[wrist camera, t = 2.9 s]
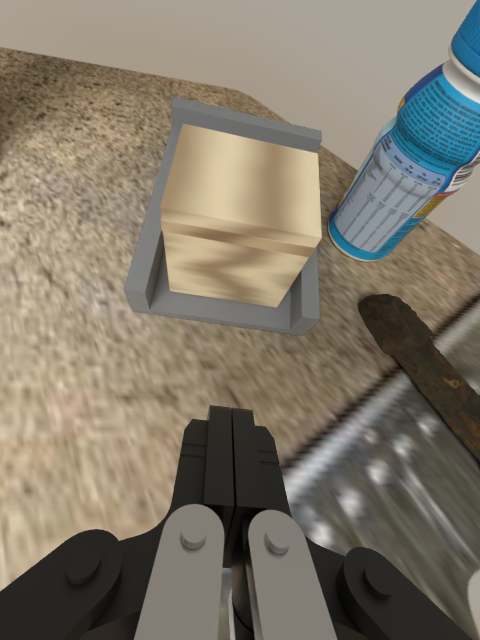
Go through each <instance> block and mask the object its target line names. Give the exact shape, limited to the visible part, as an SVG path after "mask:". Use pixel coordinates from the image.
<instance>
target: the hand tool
mask: <svg viewBox="0 0 480 640" xmlns="http://www.w3.org/2000/svg"><path fill="white" fill-rule="evenodd" d="M358 306H359V307H358V308H359V311H360V313H361V315H362V317H363V319H364V321H365V323H366V326H367V328H368V329H369V330H370V332H371V333H372V335H373V336H374V338H375V339H376V341H377V343H378V344H379V346H380V348H381V350H382V351H383V352H384V353H385V354H389V355H392V356H393V357H394V358H395V359H396V360H397V361H398V362H399V364H400V365H401V366H402V367H403V368H404V369H405V371H406V372H407V374H408V375H409V377H410V378H411V379H412V380H413V382H414V383H415V384H416V386H417V387H418V389H419V391H420V392H421V393H422V394H423V395H424V396H425V397H426V398H427V399H428V400H429V401H430V402H431V403H432V405H433V406H434V407H435V408H436V409H437V411H438V412H439V413H440V414H441V416H442V417H443V418H444V420H445V422H446V423H447V424H448V425H449V426H450V427H451V429H452V430H453V432H454V433H455V434H456V435H457V436H458V437H459V438H460V439H461V440H462V442H463V443H464V445H465V446H466V447H467V448H468V449H469V450H470V451H471V452H472V453H473V455H474V456H475V457H476V458H477V460H478V461H479V462H480V395H478V394H477V393H476V392H475V390H474V389H473V388H471V387H470V385H469V384H468V383H467V382H466V381H465V380H464V379H463V378H462V377H461V375H460V374H459V373H458V372H457V371H456V370H455V368H453V367H452V365H451V364H450V363H449V362H448V361H447V360H446V359H445V358H444V357H443V355H442V354H441V353H440V351H439V350H438V349H437V348H436V347H435V346H434V345H433V343H432V341H431V340H430V339H429V337H430V336H431V335H432V334H433V333H432V331H431V330H430V329H429V328H428V326H427V325H426V324H425V323H424V322H423V321H421V319H420V318H419V317H418V316H417V314H416V312H415V311H413V310H412V309H411V307H410V306H409V305H408V304H406V303H404V302H403V301H402V300H401V299H400V298H398V297H396V296H391V295H389V294H381V295H370V296H368V297H366V298H364V299H363V300H362V301H361V302H360V303H359V305H358Z"/></svg>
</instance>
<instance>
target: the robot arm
mask: <svg viewBox="0 0 480 640" xmlns="http://www.w3.org/2000/svg"><path fill="white" fill-rule="evenodd" d="M222 568H232V590H231V593H230V597H229V603H228V610H229V624H230V639H231V640H472V639H471V638H470V637H469V636H468V635H467V634H466V633H465V632H464V631H463V630H462V629H461V628H460V627H459V626H457V625H456V624H455V623H454V622H453V621H452V620H451V619H450V618H449V617H448V616H447V615H446V614H445V613H444V612H443V611H442V610H440V609H439V608H438V607H437V606H436V605H435V604H434V603H433V602H432V601H431V600H430V599H429V598H428V597H427V596H426V595H425V594H423V593H422V592H421V591H420V590H419V589H418V588H417V587H416V586H415V585H414V584H413V583H412V582H411V581H410V580H409V579H408V578H406V577H405V576H404V575H403V574H402V573H401V572H400V571H399V570H398V569H397V568H396V567H395V566H394V565H393V564H392V563H391V562H389V561H388V560H387V559H386V558H385V557H384V556H382V555H381V554H379V553H378V552H376V551H374V550H371V549H369V548H364V547H357V548H354V549H352V550H350V551H349V552H348V553H347V555H346V557H345V556H342V555H340V554H338V553H335V552H333V551H331V550H328V549H326V548H324V547H321V546H319V545H317V544H315V543H314V542H312V541H311V540H309V539H308V538H307V537H306V536H305V535H304V533H303V532H302V530H301V528H300V527H299V525H298V524H297V523H296V522H295V521H294V520H293V518H292V516H291V513H290V509H289V505H288V500H287V496H286V491H285V487H284V482H283V477H282V473H281V468H280V466H279V459H278V455H277V450H276V446H275V441H274V438H273V437H272V435H271V434H270V432H269V431H268V429H267V428H266V427H262V426H255V424H254V417H253V411H252V410H247V409H239V408H229V407H221V406H212V405H210V407H209V412H208V418H207V420H197V419H192V421H191V422H190V423H189V424H188V426H187V427H186V428H185V430H184V436H183V441H182V447H181V452H180V458H179V464H178V469H177V475H176V481H175V486H174V492H173V497H172V503H171V507H170V509H169V511H168V513H167V515H166V516H165V518H164V519H163V520H162V521H161V522H160V523H159V524H158V525H157V526H156V527H155V528H153V529H152V530H150V531H148V532H146V533H144V534H141V535H138V536H135V537H131V538H128V539H124V540H121V541H118V539H117V538H116V537H115V536H114V535H113V534H111V533H110V532H108V531H105V530H99V529H94V530H87V531H84V532H81V533H78V534H76V535H74V536H72V537H71V538H69V539H68V540H66V541H65V542H64V543H62V544H61V545H60V546H59V547H57V548H56V549H55V550H53V551H52V552H51V553H50V554H48V555H47V556H46V557H44V558H43V559H42V560H40V561H39V562H38V563H37V564H35V565H34V566H33V567H31V568H30V569H29V570H28V571H26V572H25V573H24V574H22V575H21V576H20V577H18V578H17V579H16V580H15V581H13V582H12V583H11V584H9V585H8V586H7V587H6V588H4V589H3V590H2V591H0V640H217V639H218V624H219V609H220V594H221V579H222Z"/></svg>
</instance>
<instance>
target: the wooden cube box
mask: <svg viewBox="0 0 480 640" xmlns="http://www.w3.org/2000/svg"><path fill="white" fill-rule="evenodd" d="M160 211H161V228H162V231H163V237H164V245H165V254H166V262H167V271H168V279H169V288H170V291H172V292H179V293H185V294H192V295H198V296H205V297H211V298H218V299H224V300H231V301H237V302H243V303H250V304H256V305H263V306H269V307H276V308H277V307H278V305H279V304H280V302H281V300H282V299H283V297H284V296H285V294H286V293H287V291H288V290H289V288H290V286H291V285H292V283H293V282H294V280H295V279H296V277H297V275H298V274H299V272H300V271H301V269H302V268H303V266H304V265H305V263H306V261H307V260H308V258H309V257H311V255H312V254H313V252H314V251H315V249H316V246H317V244H318V243H319V241H320V240H321V238H322V234H321V211H320V189H319V167H318V153H313V152H309V151H304V150H300V149H295V148H291V147H286V146H282V145H277V144H273V143H268V142H264V141H259V140H255V139H250V138H246V137H241V136H237V135H232V134H228V133H224V132H219V131H215V130H210V129H206V128H201V127H197V126H192V125H188V124H183V125H182V129H181V132H180V136H179V140H178V143H177V147H176V151H175V154H174V158H173V162H172V165H171V169H170V173H169V176H168V180H167V184H166V187H165V191H164V195H163V198H162V202H161V206H160Z"/></svg>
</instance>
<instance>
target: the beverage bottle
mask: <svg viewBox="0 0 480 640" xmlns="http://www.w3.org/2000/svg"><path fill="white" fill-rule="evenodd" d="M448 53H449V57H450V60H448V61H446V62H445V63H443V64H442V65H440V66H438V67H437V68H435V69H434V70H432V71H431V72H430V73H428V74H427V75H426V76H424V77H423V78H422V79H421V80H419V81H418V82H417V83H416V84H415V85H414V86H413V87H412V88H411V89H410V90H409V91H408V92H407V93H406V95H405V96H404V97H403V98H402V100H401V101H400V103H399V106H398V111H397V116H396V117H394V118H393V119H392V120H390V121H389V122H388V123H387V124H386V125H385V126H384V127H383V128H382V130H381V131H380V133H379V134H378V136H377V138H376V140H375V143H374V146H373V147H372V149H371V151H370V152H369V154H368V155H367V157H366V159H365V160H364V162H363V164H362V165H361V167H360V169H359V170H358V172H357V174H356V175H355V177H354V179H353V180H352V182H351V184H350V185H349V187H348V188H347V190H346V192H345V193H344V195H343V197H342V198H341V200H340V201H339V203H338V205H337V206H336V208H335V209H334V210H333V212H332V214H331V215H330V217H329V220H328V233H329V236H330V238H331V240H332V242H333V243H334V245H335V246H336V247H337V248H338V249H339V250H340V251H341V252H342V253H344V254H345V255H347V256H349V257H351V258H353V259H355V260H358V261H363V262H374V261H378V260H381V259H383V258H384V257H386V256H387V255H388V254H389V253H390V252H391V251H392V250H393V249H394V248H395V247H396V246H397V244H398V243H399V242H400V241H401V240H402V239H403V238H404V237H405V236H406V235H407V234H408V233H409V232H410V231H412V230H413V229H414V228H415V227H416V226H417V225H418V224H419V223H420V222H421V221H422V220H423V219H424V218H425V217H426V216H427V215H428V214H429V213H430V212H431V211H432V210H434V209H435V208H436V207H437V206H438V205H439V204H440V203H441V202H442V201H443V200H444V199H445V198H446V197H447V196H449V195H452V194H453V193H455V192H456V191H457V190H459V189H460V188H461V187H462V186H463V185H464V184H465V183H466V182H467V181H468V179H469V178H470V177H471V175H472V173H473V171H474V168H475V166H476V165H477V164H479V163H480V0H477V1H476V2H475V4H474V6H473V7H472V9H471V10H470V12H469V13H468V15H467V16H466V18H465V20H464V21H463V22H462V24H461V26H460V28H459V29H458V31H457V32H456V34H455V35H454V37H453V39H452V42H451V44H450V46H449V50H448Z"/></svg>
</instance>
